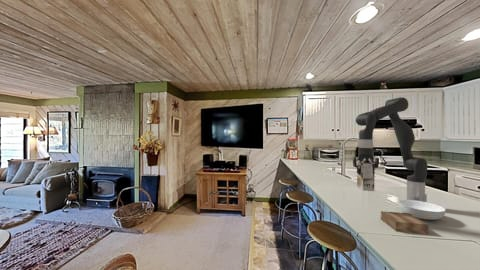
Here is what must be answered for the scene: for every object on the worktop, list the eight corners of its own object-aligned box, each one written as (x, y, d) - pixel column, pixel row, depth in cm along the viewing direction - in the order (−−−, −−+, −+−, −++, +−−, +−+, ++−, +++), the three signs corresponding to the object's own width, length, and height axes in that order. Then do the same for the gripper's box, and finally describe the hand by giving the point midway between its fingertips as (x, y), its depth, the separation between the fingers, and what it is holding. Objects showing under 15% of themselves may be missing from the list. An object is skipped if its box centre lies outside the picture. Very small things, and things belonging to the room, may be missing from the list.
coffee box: (374, 191, 115) (375, 163, 115) (362, 190, 116) (362, 163, 116) (368, 187, 124) (368, 161, 123) (356, 186, 125) (356, 161, 125)
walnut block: (408, 222, 110) (408, 213, 110) (428, 234, 96) (428, 224, 96) (380, 220, 112) (380, 211, 112) (395, 231, 99) (395, 221, 99)
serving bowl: (431, 212, 124) (432, 201, 124) (455, 227, 104) (455, 213, 104) (392, 208, 131) (392, 197, 131) (406, 221, 111) (407, 208, 111)
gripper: (376, 146, 122) (375, 174, 122) (350, 146, 125) (350, 173, 125) (382, 147, 115) (382, 176, 115) (354, 147, 117) (354, 175, 117)
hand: (365, 174), depth 120 cm, fingers closed on coffee box, 6 cm apart
